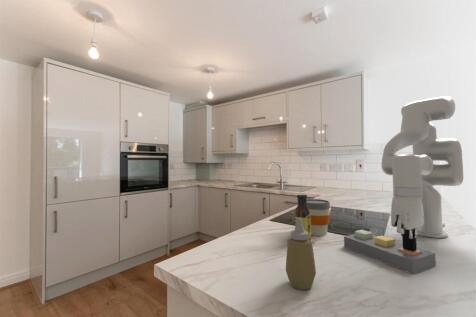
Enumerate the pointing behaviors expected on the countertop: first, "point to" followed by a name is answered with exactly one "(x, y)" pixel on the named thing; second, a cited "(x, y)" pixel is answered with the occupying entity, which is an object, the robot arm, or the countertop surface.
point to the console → (391, 254)
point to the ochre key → (384, 241)
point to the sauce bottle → (303, 213)
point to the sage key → (363, 234)
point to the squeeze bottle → (300, 258)
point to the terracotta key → (410, 251)
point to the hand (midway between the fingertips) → (409, 249)
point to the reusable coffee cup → (319, 216)
